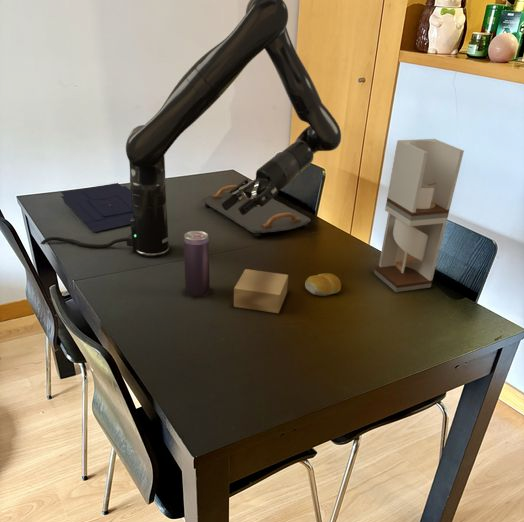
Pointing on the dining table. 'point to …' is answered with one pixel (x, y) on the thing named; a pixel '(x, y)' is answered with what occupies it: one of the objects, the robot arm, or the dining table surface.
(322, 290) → the bread roll
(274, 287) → the birch block
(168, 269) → the dining table surface
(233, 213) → the serving tray
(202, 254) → the beverage can
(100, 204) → the folded navy cloth
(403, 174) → the architectural tower model
